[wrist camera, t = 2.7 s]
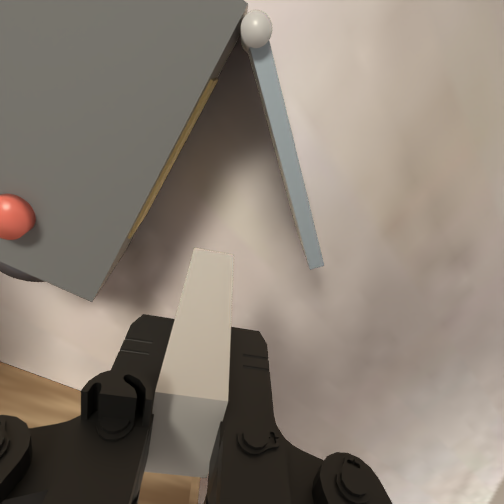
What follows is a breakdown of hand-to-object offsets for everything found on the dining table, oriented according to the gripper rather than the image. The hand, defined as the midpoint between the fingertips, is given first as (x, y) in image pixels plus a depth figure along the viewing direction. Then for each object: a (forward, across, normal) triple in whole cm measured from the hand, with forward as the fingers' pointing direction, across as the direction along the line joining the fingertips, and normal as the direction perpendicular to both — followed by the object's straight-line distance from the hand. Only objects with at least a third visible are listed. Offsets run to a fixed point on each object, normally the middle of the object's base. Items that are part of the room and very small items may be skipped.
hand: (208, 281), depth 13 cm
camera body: (+10, -7, +4) cm, 13 cm away
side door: (+10, +3, +4) cm, 11 cm away
